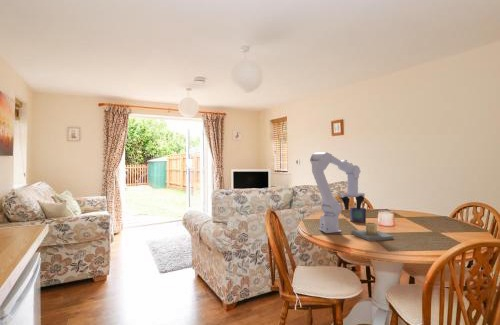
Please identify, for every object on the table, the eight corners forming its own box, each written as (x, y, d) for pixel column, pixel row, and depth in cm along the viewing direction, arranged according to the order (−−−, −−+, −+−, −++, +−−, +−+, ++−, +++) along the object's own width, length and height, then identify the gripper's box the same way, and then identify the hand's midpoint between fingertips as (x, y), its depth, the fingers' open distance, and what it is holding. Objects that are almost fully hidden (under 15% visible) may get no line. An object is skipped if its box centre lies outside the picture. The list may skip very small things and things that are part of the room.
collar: (370, 235, 140) (370, 225, 140) (363, 232, 145) (363, 222, 145) (379, 234, 141) (379, 224, 141) (372, 231, 146) (372, 222, 146)
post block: (368, 241, 134) (368, 228, 134) (351, 233, 148) (351, 222, 148) (393, 239, 138) (393, 227, 138) (374, 232, 151) (374, 220, 151)
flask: (349, 221, 177) (349, 204, 177) (350, 220, 180) (350, 204, 180) (365, 223, 173) (365, 205, 173) (365, 222, 176) (365, 205, 176)
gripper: (345, 186, 156) (345, 211, 156) (368, 186, 160) (368, 210, 160) (338, 185, 163) (338, 209, 163) (360, 185, 166) (360, 208, 167)
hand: (352, 209), depth 162 cm, fingers open, 7 cm apart
